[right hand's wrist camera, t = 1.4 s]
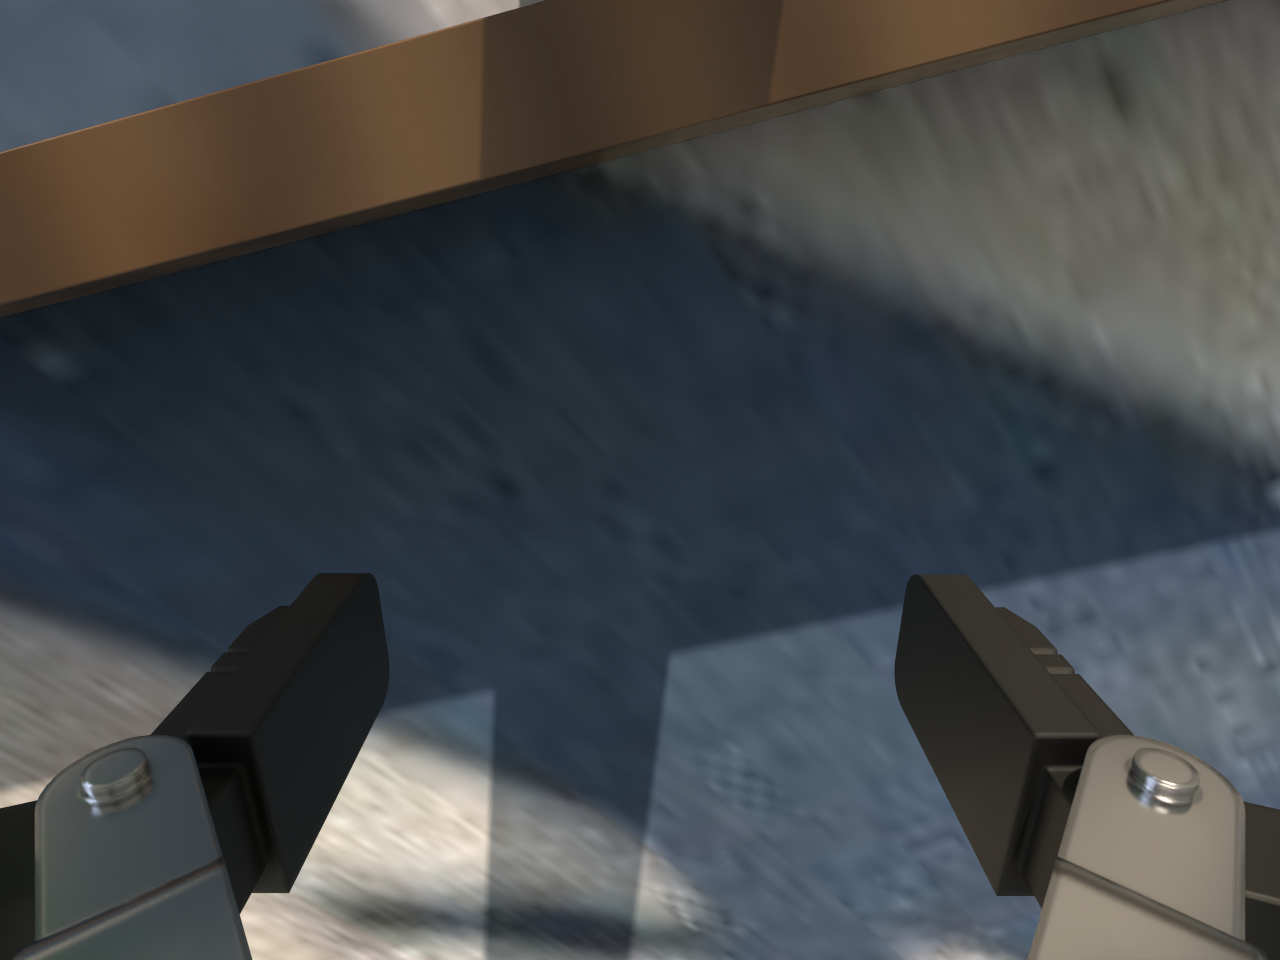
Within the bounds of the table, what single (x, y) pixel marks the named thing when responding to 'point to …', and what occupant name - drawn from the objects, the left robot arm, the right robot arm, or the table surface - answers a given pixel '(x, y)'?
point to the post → (471, 120)
